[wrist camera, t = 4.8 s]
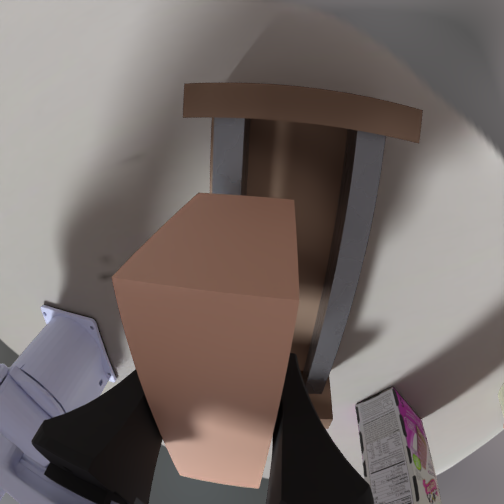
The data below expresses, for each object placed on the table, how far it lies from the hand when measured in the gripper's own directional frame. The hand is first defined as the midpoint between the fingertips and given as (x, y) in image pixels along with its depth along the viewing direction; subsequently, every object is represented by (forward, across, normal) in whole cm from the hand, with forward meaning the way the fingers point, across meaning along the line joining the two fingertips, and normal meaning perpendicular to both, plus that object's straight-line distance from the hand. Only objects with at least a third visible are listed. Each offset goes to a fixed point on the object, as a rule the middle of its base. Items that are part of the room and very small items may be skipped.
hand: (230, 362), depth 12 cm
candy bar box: (+10, -17, +18) cm, 27 cm away
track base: (+10, -2, 0) cm, 10 cm away
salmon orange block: (+3, 0, 0) cm, 3 cm away
